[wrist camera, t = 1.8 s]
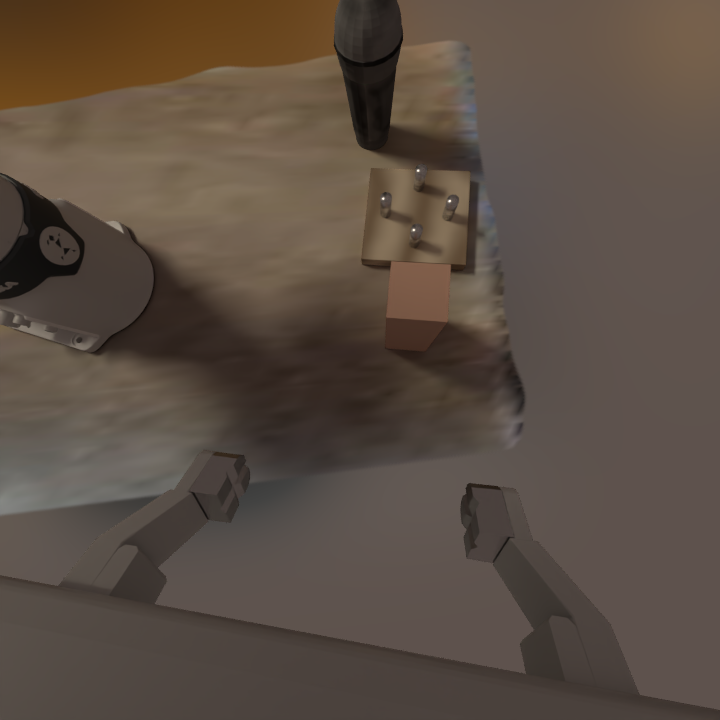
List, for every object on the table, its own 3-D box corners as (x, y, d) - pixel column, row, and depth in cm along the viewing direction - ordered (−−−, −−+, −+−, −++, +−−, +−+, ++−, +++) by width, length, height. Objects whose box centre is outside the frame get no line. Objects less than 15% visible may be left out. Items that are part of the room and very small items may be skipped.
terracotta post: (385, 348, 38) (386, 317, 25) (388, 310, 38) (391, 261, 26) (425, 351, 37) (447, 321, 24) (428, 312, 38) (450, 264, 25)
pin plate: (362, 264, 40) (359, 246, 35) (371, 176, 42) (369, 149, 37) (462, 270, 39) (473, 252, 34) (467, 179, 40) (477, 151, 36)
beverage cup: (408, 133, 42) (430, -106, 23) (372, 168, 42) (363, -46, 22) (371, 105, 44) (362, -146, 24) (336, 138, 43) (296, -89, 23)
